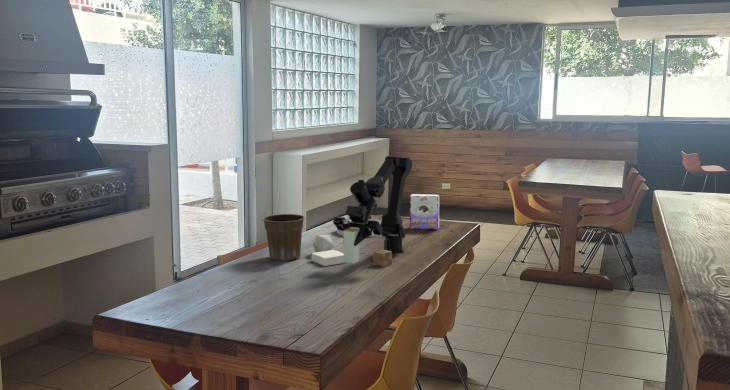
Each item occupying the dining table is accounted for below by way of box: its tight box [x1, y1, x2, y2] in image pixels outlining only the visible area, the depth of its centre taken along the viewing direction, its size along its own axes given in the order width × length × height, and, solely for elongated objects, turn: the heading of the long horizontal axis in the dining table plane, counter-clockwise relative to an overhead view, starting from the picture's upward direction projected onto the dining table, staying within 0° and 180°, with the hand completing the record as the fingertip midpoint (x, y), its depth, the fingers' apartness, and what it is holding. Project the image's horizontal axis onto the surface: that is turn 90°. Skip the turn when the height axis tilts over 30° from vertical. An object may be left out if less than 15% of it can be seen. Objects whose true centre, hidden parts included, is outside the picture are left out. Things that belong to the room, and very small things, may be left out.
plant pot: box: [262, 213, 305, 262], centre depth 256 cm, size 16×16×16 cm
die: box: [312, 234, 335, 253], centre depth 262 cm, size 8×9×10 cm
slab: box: [311, 249, 345, 267], centre depth 250 cm, size 10×10×3 cm
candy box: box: [409, 193, 440, 231], centre depth 313 cm, size 14×6×16 cm, turn 77°
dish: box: [336, 218, 382, 238], centre depth 305 cm, size 22×22×5 cm
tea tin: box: [343, 228, 360, 265], centre depth 237 cm, size 4×4×12 cm
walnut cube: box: [372, 249, 393, 267], centre depth 246 cm, size 5×5×5 cm
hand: (349, 244), depth 235 cm, fingers closed on tea tin, 4 cm apart
